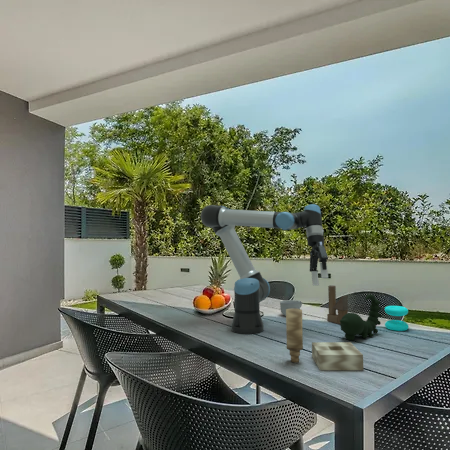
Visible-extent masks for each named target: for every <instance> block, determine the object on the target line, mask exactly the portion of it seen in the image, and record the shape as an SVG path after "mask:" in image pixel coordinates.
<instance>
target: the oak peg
mask: <svg viewBox="0 0 450 450" xmlns="http://www.w3.org/2000/svg"><path fill="white" fill-rule="evenodd" d="M285 325H286V326H285V327H286V328H285V329H286V330H285V331H286V337H285V338H286V350H289V356H290V362H291V363H294V364H297V363H299V362H300V356H301V351H302V350H303V349H304V346H303V345H304V342H303V341H304V338H303V331H304V330H303V309H302V308H300V309H296V308H291V309H286V316H285Z"/></svg>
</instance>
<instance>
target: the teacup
mask: <svg viewBox="0 0 450 450" xmlns="http://www.w3.org/2000/svg"><path fill="white" fill-rule="evenodd" d="M279 304H280V305H279V306H280V307H279V308H280V313H281V314H282V315H283V317H286V309H291V308H296V309H301V307H302V304H303V301H302V300H300V299H298V300H295V299H289V300H287V299H286V300H281V301H279Z"/></svg>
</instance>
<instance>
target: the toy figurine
mask: <svg viewBox="0 0 450 450" xmlns="http://www.w3.org/2000/svg"><path fill="white" fill-rule="evenodd" d="M367 300H369V301H370V306H369V311H368V316H367V318H366V320H364V319H363V318H362V317H361V315H359V314H357V313H355V312H348V313H347V314H345V315H344V316H343V317H342V319H341V320H340V324H339V326H340V331H342V332H343V333H344V338H345V339H346V340H348V341H354V340H355V337H356V336H361V338H363V339H366V338H368V337H369V338H373V336H374V334H378V333H379V330H378V329H377V325H378V326H379V325H381V320H379V318H381V317H382V314H381V313H379V311H381V310H382V307H381V306H379V305H381V304H382V302H381V301H380V300H379V299H377V298H376V296H375V295H374V294H372V293H371V294H367V295H366V296H365V301H367Z"/></svg>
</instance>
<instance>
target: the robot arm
mask: <svg viewBox="0 0 450 450" xmlns="http://www.w3.org/2000/svg"><path fill="white" fill-rule="evenodd" d="M200 212H201V213H200V221H201V223H202V224H203V225H204V226H205V227H207V228H212V230H213V232H214V234H215V235H216V236H218V237H219V238H220V239H221V242H222V243H223V246H224V248H225V250H226V252H227V254H228V256H229V258H230V260H231V262H232V264H233V265H234V268H235V269H236V272H237V274H238V276H239V279H238V280H236V281H235V282H234V287H233V290H234V295H233V296H234V315H233V318H232V321H231V325H230V326H231V328H230V329H231V331H232V332H234V333H236V334H244V335H246V334H247V335H248V334H249V335H252V334H253V335H254V334H258V333H262V332H264V329H265V328H264V321H263V320H262V316H261V313H260V303H261V302H263V301H264V300H266V299H267V298H268V296H269V295H270V291H271V285H270V283H269V282H268V280H267V279H266V278H264V277H263V275H262V274H261V271H259V270H257V269H256V268H255V267H254V264H253V263H252V261H251V259H250V257H249V255H248V253H247V251H246V249H245V247H244V245H243V243H242V241H241V238H240V237H239V234H238V233H237V232H236V229H235V228H236V226H238V227H239V226H240V227H251V228H252V227H253V228H255V227H256V228H268V229H281V230H282V231H290V230H295V229H301V228H305V231H306V232H305V233H306V237H307V238H306V240H307V242H306V243H307V246H309V247H311V250H309V272H311V281H312V286H320V283H319V274H318V273H319V270H318V262H319V267H320V268H319V269H320V276H321V279H328V278H329V273H328V265H327V262H328V261H327V260H328V259H329V257H328V253H327V251H326V248H325V247H326V246H325V237H324V228H323V220H322V212H321V208H320V206H319V205H317V204H315V203H313V204H312V203H311V204H308V205H306V206H304V209H303V211H300V212H299V211H298V212H288V211H267V210H266V211H265V210H263V211H262V210H252V209H251V210H249V209H248V210H247V209H231V208H229V207H226V206H224V205H218V204H209V205H207V206H204V207H203V209H201V211H200ZM318 260H319V261H318Z"/></svg>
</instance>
